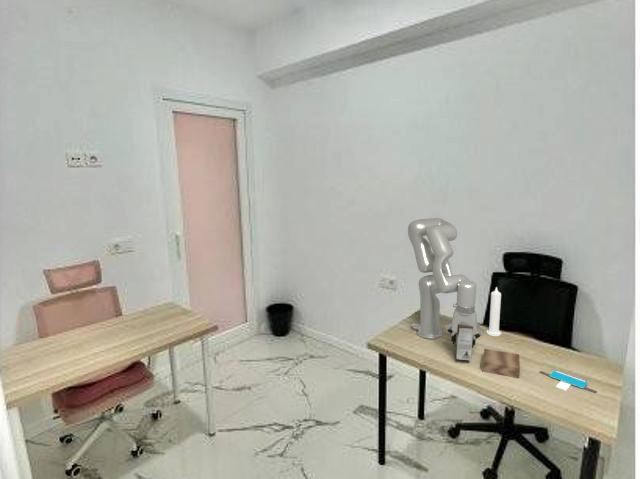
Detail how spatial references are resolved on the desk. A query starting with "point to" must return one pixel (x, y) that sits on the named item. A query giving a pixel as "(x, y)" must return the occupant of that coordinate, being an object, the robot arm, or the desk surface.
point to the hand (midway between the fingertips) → (463, 344)
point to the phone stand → (568, 380)
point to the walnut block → (501, 363)
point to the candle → (494, 314)
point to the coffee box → (463, 342)
